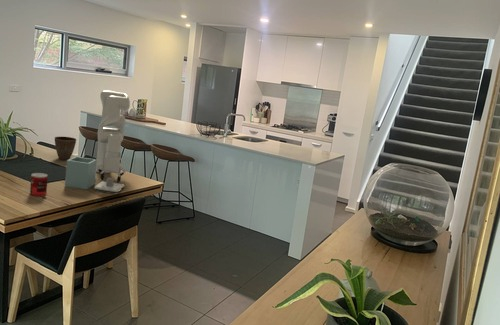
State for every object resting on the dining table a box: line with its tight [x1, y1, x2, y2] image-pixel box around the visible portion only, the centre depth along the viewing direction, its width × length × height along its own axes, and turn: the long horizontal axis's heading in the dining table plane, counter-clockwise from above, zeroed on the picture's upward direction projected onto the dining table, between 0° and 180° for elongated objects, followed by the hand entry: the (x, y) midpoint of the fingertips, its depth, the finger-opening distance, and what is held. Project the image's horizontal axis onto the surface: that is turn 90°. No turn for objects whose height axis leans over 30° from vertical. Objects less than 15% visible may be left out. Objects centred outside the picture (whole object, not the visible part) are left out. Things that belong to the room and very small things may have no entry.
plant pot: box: [54, 136, 77, 161], centre depth 290 cm, size 15×15×16 cm
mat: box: [93, 189, 123, 195], centre depth 238 cm, size 14×14×1 cm
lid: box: [94, 177, 125, 192], centre depth 237 cm, size 14×14×6 cm
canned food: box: [29, 172, 49, 197], centre depth 208 cm, size 8×8×11 cm
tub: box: [64, 156, 97, 190], centre depth 235 cm, size 13×13×16 cm
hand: (110, 181), depth 237 cm, fingers open, 9 cm apart
